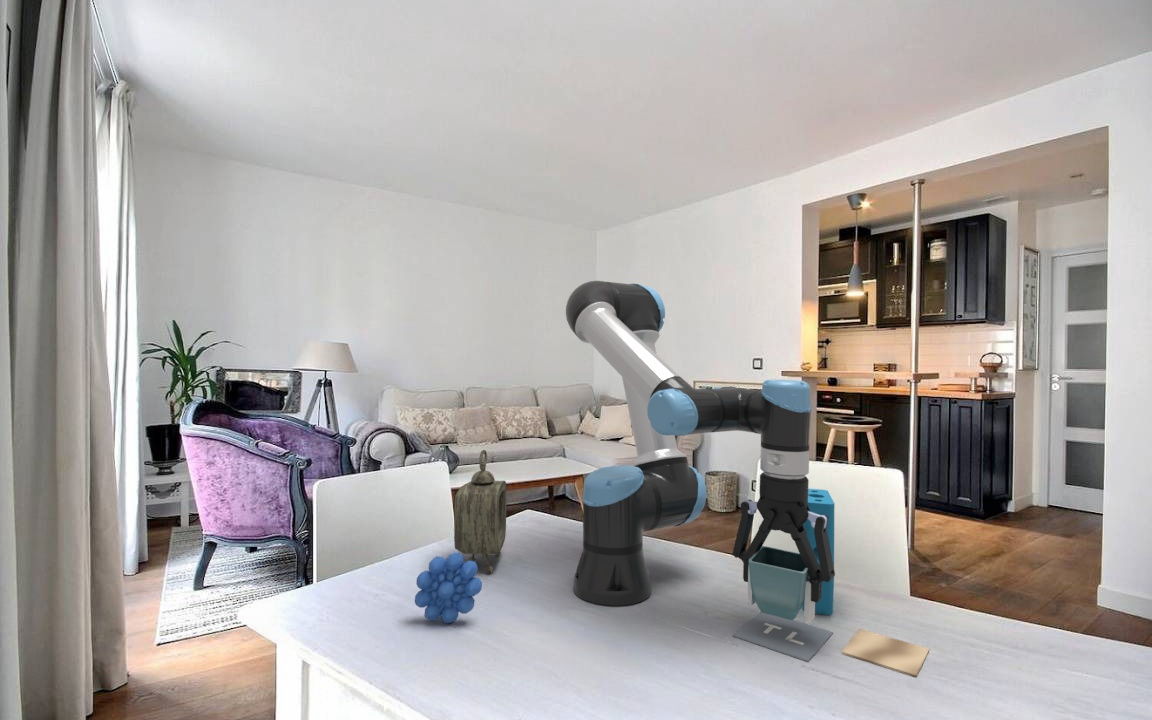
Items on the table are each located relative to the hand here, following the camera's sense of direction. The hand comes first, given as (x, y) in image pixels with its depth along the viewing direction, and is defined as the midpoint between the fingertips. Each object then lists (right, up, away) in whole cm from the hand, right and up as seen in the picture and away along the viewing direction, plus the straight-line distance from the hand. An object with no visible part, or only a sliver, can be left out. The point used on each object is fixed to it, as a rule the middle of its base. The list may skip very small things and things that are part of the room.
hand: (780, 610), depth 94 cm
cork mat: (+14, -4, -6) cm, 16 cm away
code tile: (0, -4, -1) cm, 4 cm away
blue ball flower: (-55, -4, +4) cm, 56 cm away
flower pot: (0, 0, 0) cm, 0 cm away
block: (+11, -4, +12) cm, 16 cm away
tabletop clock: (-55, -4, +31) cm, 63 cm away
